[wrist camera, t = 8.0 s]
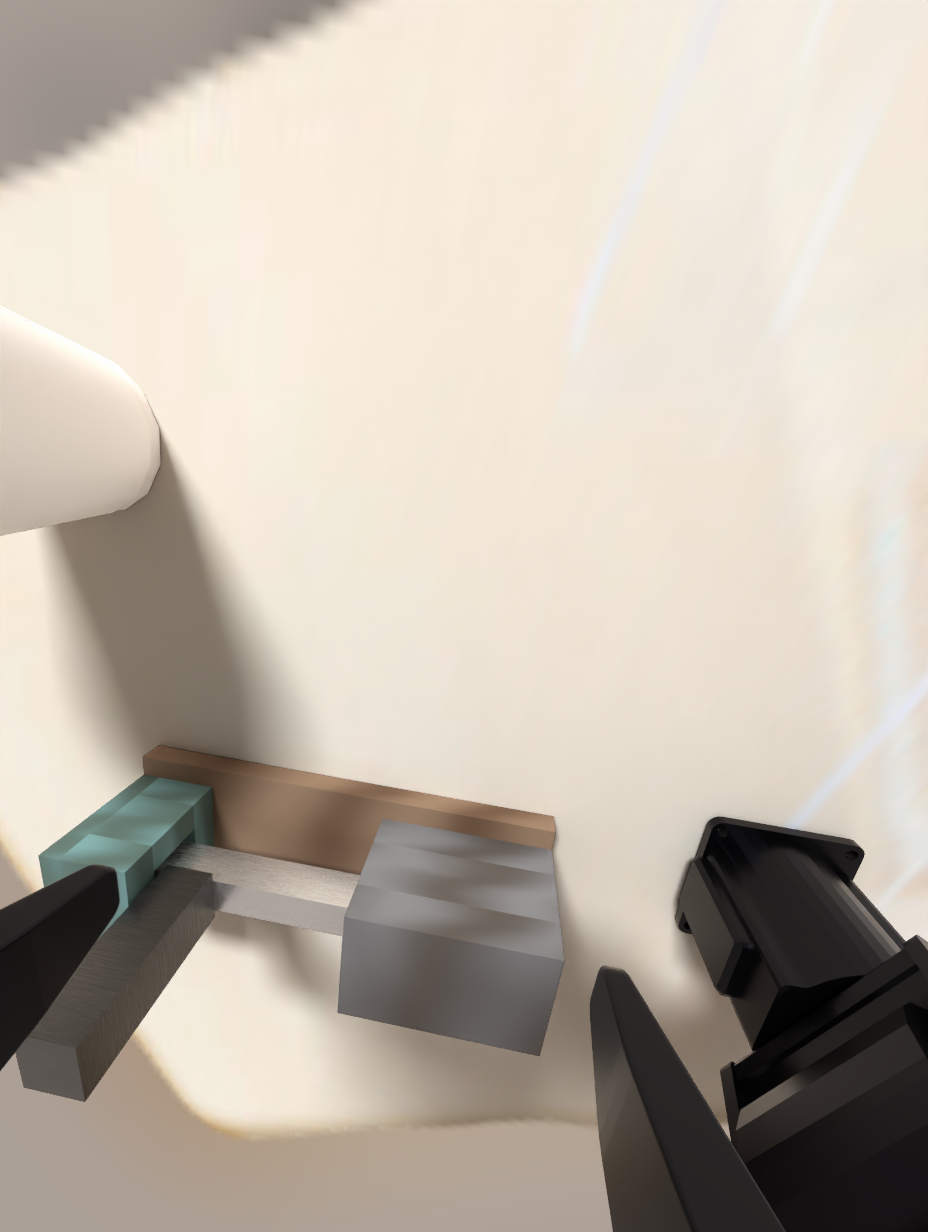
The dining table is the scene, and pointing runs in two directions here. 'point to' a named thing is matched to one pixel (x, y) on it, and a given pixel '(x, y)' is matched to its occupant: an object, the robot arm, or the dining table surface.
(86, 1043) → the angled grey metal bar
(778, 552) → the dining table surface
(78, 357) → the foam cup
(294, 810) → the wooden long base
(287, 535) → the dining table surface
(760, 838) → the robot arm
